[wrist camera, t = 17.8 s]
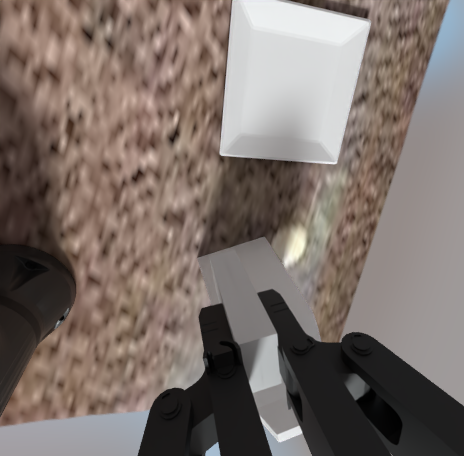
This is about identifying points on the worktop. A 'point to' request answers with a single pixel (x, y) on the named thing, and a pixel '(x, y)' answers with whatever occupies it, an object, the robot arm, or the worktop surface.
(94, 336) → the worktop surface
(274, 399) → the milk
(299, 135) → the plate
